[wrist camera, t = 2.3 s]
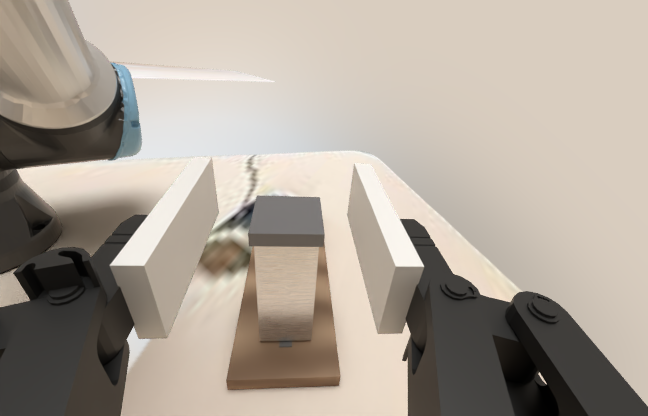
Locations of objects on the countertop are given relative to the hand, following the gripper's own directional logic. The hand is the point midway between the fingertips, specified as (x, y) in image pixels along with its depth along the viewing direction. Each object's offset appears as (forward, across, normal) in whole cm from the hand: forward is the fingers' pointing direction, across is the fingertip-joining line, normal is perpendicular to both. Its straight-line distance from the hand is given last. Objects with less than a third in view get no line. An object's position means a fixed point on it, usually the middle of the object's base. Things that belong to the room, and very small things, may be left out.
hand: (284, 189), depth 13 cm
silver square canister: (+9, 0, -20) cm, 22 cm away
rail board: (+17, 0, -22) cm, 28 cm away
